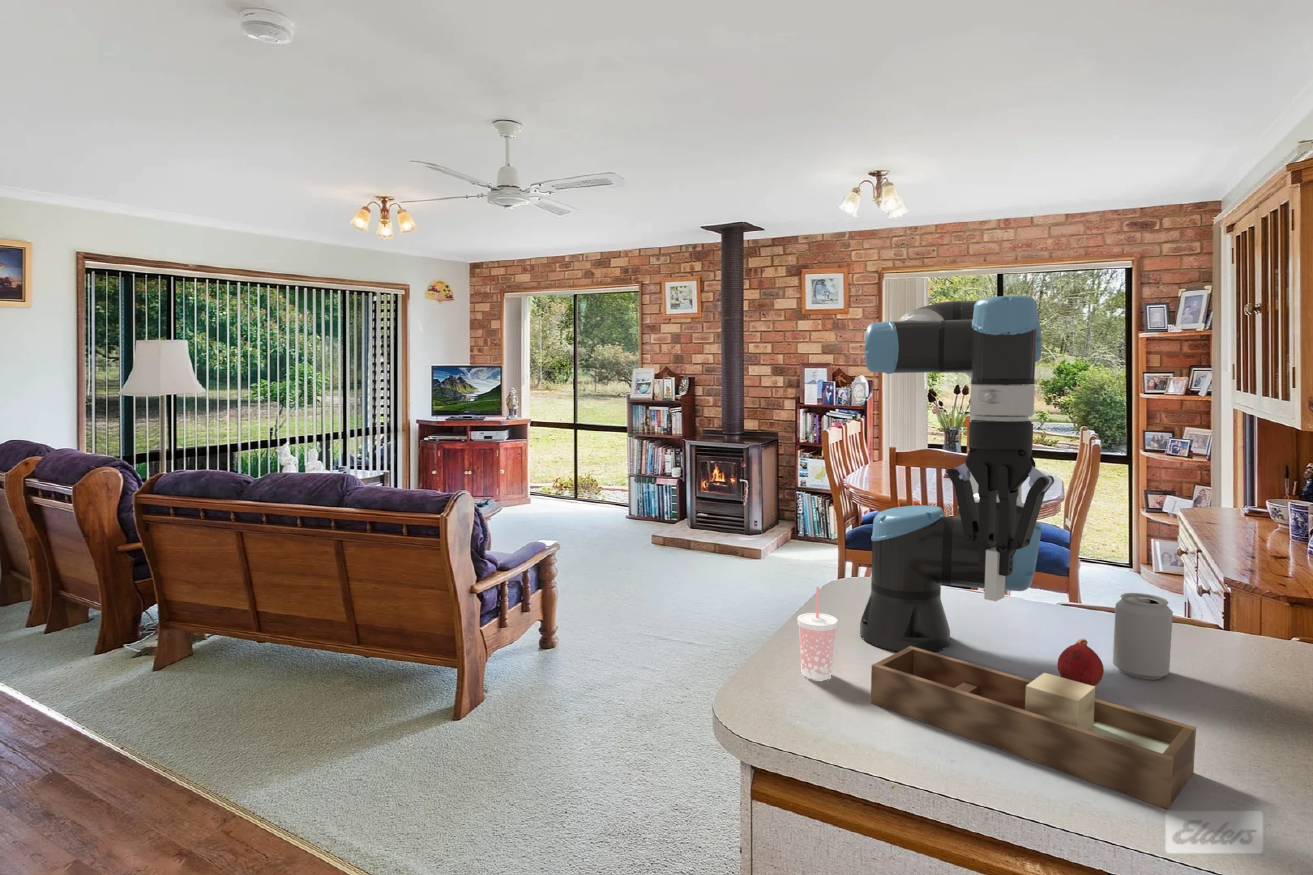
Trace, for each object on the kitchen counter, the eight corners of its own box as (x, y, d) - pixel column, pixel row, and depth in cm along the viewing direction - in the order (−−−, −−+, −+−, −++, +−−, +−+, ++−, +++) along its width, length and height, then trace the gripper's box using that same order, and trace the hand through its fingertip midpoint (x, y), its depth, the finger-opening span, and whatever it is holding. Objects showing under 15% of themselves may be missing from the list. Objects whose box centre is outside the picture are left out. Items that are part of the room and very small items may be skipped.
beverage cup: (837, 684, 113) (838, 594, 112) (795, 681, 115) (796, 591, 113) (836, 669, 119) (838, 582, 118) (797, 666, 120) (798, 580, 119)
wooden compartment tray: (870, 702, 107) (871, 665, 107) (909, 680, 115) (910, 645, 114) (1168, 809, 81) (1171, 760, 80) (1193, 772, 88) (1196, 727, 88)
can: (1178, 683, 113) (1182, 605, 112) (1123, 679, 115) (1127, 602, 114) (1156, 664, 121) (1160, 591, 120) (1104, 661, 122) (1108, 589, 121)
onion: (1085, 703, 107) (1088, 648, 106) (1048, 688, 112) (1050, 636, 111) (1110, 695, 109) (1113, 641, 109) (1072, 681, 114) (1075, 629, 114)
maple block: (1024, 724, 94) (1025, 685, 94) (1042, 709, 98) (1044, 672, 98) (1076, 741, 90) (1078, 700, 89) (1093, 725, 94) (1095, 686, 93)
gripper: (938, 417, 99) (933, 593, 101) (1043, 422, 89) (1035, 615, 91) (964, 415, 104) (959, 582, 106) (1066, 419, 95) (1058, 603, 96)
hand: (994, 597), depth 99 cm, fingers closed
